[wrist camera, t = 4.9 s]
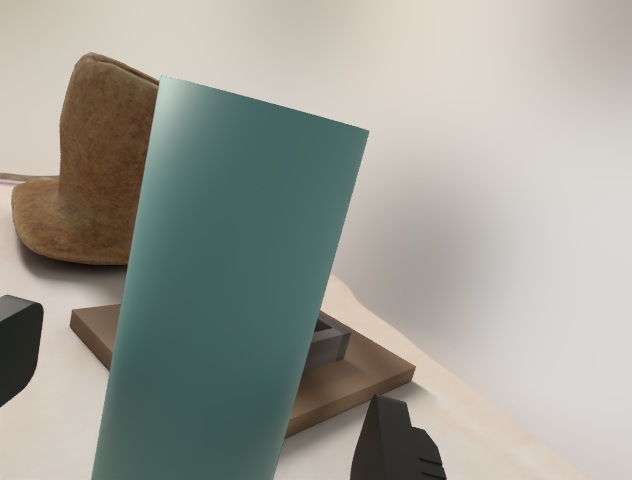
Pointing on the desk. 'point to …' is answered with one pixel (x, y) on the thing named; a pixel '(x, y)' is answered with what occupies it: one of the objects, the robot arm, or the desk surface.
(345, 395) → the walnut base board
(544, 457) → the desk surface
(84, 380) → the desk surface
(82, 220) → the brown hollow flared cylinder
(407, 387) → the desk surface
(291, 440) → the desk surface
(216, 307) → the teal pillar
